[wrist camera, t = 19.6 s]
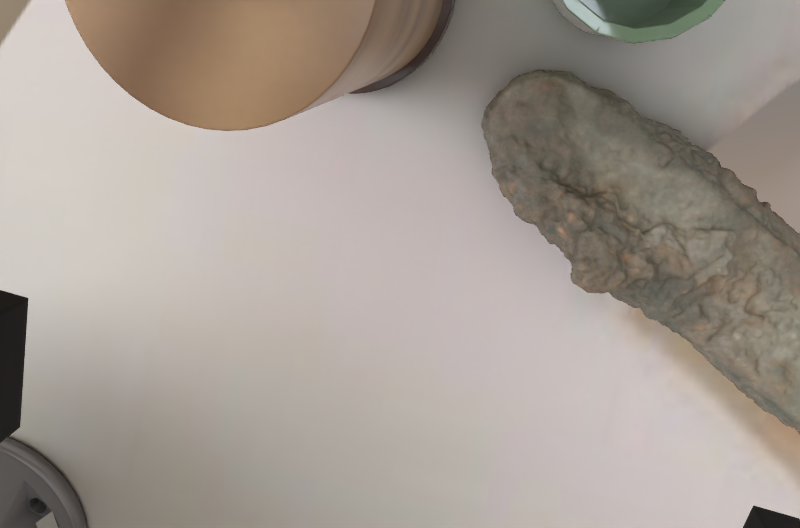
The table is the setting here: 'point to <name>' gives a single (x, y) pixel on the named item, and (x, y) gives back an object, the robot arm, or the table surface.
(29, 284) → the table surface
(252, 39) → the towel holder
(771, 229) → the elongated rock
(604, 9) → the green cup
